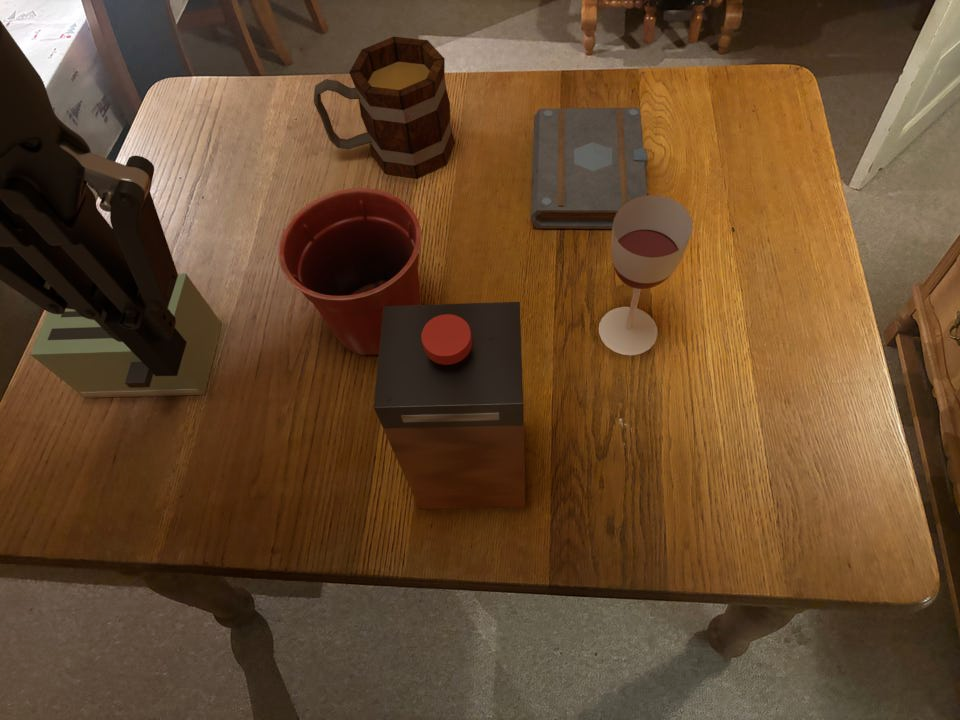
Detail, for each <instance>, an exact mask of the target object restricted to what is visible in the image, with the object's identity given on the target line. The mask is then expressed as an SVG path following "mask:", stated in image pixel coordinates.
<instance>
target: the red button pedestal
mask: <svg viewBox="0 0 960 720" xmlns="http://www.w3.org/2000/svg"><path fill="white" fill-rule="evenodd" d="M445 314H451V315H456V316H459V317H461V318H462V319H464V320H465V321H466V322H467V324H468V325H469V327H470V330H471V336H472V348H471V350H470V352H469V354H468V355H467V356H466V357H465V358H464V359H463V360H461V361H460V362H457V363H455V364H450V365H443V364H438V363H436V362H434V361H432V360H431V359H429V358H428V356H427V355H426V353H425V351H424V348H423V344H422V339H421V334H422V330H423V328H424V326H425V325H426V324H427V323H428V322H429V321H430V320H431V319H433V318H434V317H437V316H440V315H445ZM521 322H522V321H521V302H520V301H501V302H499V301H497V302H495V301H494V302H470V303H469V302H468V303H439V304H438V303H437V304H422V305H407V306H384V307H383V315H382V326H381V337H380V347H379V355H378V358H377V359H378V360H377V370H376V371H377V372H376V379H375V393H374V402H373V409H374V412H375V413H376V416H377V417H378V421H379V422H380V423H379V424H381V427H382V429H383V432H384V434H385V436H386V438H387V440H388V442H389V445H390V447H391V449H392V451H393V454H394V455H395V459H396V460H397V463H398V465H399V467H400V470H401V471H402V474H403V476H404V478H405V480H406V482H407V484H408V486H409V489H410V491H411V493H412V496H413V497H414V500H415V502H416V504H417V506H418V508H419V510H441V509H443V510H446V509H451V510H452V509H498V508H499V509H501V508H503V509H505V508H509V509H510V508H512V509H513V508H525V507H526V491H525V490H526V489H525V488H526V487H525V486H526V485H525V484H526V482H525V425H524V424H525V422H524V421H525V419H524V417H525V416H524V384H523V383H524V380H523V379H524V378H523V351H522V350H523V348H522V323H521Z"/></svg>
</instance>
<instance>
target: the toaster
mask: <svg viewBox="0 0 960 720" xmlns="http://www.w3.org/2000/svg"><path fill="white" fill-rule="evenodd" d="M168 309H169V310H170V311H171V313H172V314H173V315H174V317H175V318H176V324H175V328H176V330H177V331H178V332H179V333H180V335H181V336H182V337H183V338H184V339H185V341H186V342H187V343H186V347H185V350H184V354H183V357H182V360H181V364H180V367H179V371H178V374H177V376H155V375H154V374H153V373H152V372H151V371H150V370H149V369H148V368H147V367H146V366H145V364H144V363H143V362H142V361H141V360H140V359H139V358H138V357H137V356H136V355H135V354H134V353H133V352H132V351H131V350H130V349H129V348H128V347H127V346H126V345H125V344H124V343H123V342H118V341H116V340H115V339H113V338H111V337H110V336H109V335H108V333H107V332H106V331H105V330H104V329H103V328H102V327H101V326H100V325H99V324H98V323H97V322H96V321H95V320H91V319H87V318H84V317H82V316H81V315H80V314H78V313H77V312H76V311H75V310H73V309H67V308H66V309H65V312H64V313H63V314H52V313H50V312H48V311H46V314H45V317H44V319H43V322H42V324H41V326H40V328H39V332H38V334H37V336H36V339H35V340H34V343H33V346H32V348H31V351H30V353H29V355H30V356H31V357H32V358H33V359H35V360H36V361H37V362H39V363H40V364H41V365H42V366H44V367H45V369H48V370H49V371H50V372H51V373H53V374H54V375H55V376H56V377H57V378H58V379H60V380H61V381H63V382H64V383H66V385H68V387H70V388H72V389H73V390H74V391H76V393H78V394H79V395H80V396H82V397H83V398H85V399H90V398H91V399H93V398H127V397H128V398H130V397H133V398H134V397H166V396H167V397H169V396H203V395H204V396H205V395H206V391H207V387H208V382H209V378H210V375H211V370H212V365H213V362H214V359H215V355H216V350H217V345H218V343H219V342H218V341H219V337H220V333H221V328H222V325H223V323H222V322H221V320H220V319H219V317H218V316H217V315H216V313H215V312H214V310H213V309H212V307H211V306H210V305H209V303H208V302H207V301H206V299H205V298H204V296H203V295H202V294H201V292H200V291H199V289H198V288H197V287H196V285H195V284H194V283H193V281H192V280H191V279H190V277H189V276H188V274H186V273H178V277H177V280H176V284H175V287H174V290H173V293H172V296H171V299H170V303H169V306H168Z"/></svg>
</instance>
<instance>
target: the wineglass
mask: <svg viewBox="0 0 960 720" xmlns="http://www.w3.org/2000/svg"><path fill="white" fill-rule="evenodd" d="M693 222H694V221H693V219H692V216H691V214H690V212H689V210H688V209H687V208H686V207H685V206H684V205H683V204H682V203H680V202H679V201H677V200H675V199H673V198H671V197H667V196H664V195H658V194H657V195H656V194H649V195H648V194H647V196H642V197H638V198H635V199H633V200H631V201H629V202H627V203H626V204H625V205H623V206H622V207H621V208H620V209H619V211H618V212H617V214H616V216H615V218H614V222H613V227H612V229H611V242H610V251H611V252H610V253H611V254H610V255H611V261H612V266H613V270H614V271H615V273H616V276H617V277H618V278H619V280H621V282H622V283H624V284H625V285H626V286H627V287H630V288H633V294H632V298H631V302H630V306H620V307H615V308H613V309H611V310H609V311H607V312H606V313H605V314H604V315H603V316H602V317H601V319H600V322H599V324H598V334H599V337H600V338H599V339H600V340H601V342H602V343H603V344H604V345H605V347H607V348H608V349H609V350H611V351H612V352H613V353H617V354H619V355H622V356H623V355H624V356H635V355H636V356H637V355H641V354H644V353H646V352H648V351H649V350H650V349H651V348H652V347H653V346H654V345H655V343H656V341H657V339H658V327H657V324H656V322H655V320H654V319H653V318H652V317H651V315H650V314H649V313H647V312H646V311H644V310H642V309H640V308H638V303H639V300H640V295H641V291H642V290H647V289H652V288H654V287H657V286H659V285H661V284H663V283H664V282H665V281H667V279H669V278H670V277H671V276H672V275H673V273H674V272H675V271H676V270H677V269H678V267H679V265H680V263H681V261H682V259H683V258H684V256H685V253H686V251H687V248H688V245H689V242H690V240H691V236H692V235H693V228H694V225H693V224H694V223H693Z"/></svg>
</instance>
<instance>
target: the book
mask: <svg viewBox="0 0 960 720" xmlns="http://www.w3.org/2000/svg"><path fill="white" fill-rule="evenodd" d="M641 117H642V116H641V108H640V107H572V108H571V107H569V108H568V107H567V108H562V107H561V108H559V107H558V108H556V107H555V108H539V109H538V110H537V111H536V113H535V114H533V135H532V136H533V137H532V167H531V168H532V170H531V196H530V197H531V199H530V200H531V201H530V222H531V223H532V224H533V226H534V227H535V228H536V229H583V230H585V229H589V230H590V229H591V230H592V229H595V230H596V229H597V230H599V229H600V230H601V229H602V230H604V229H605V230H607V229H608V230H609V229H611V230H612V227H613V222H614V218H615V216H616V214H617V212H618V211H619V209H620V208H621V207H622V206H623V205H625V204H626V203H627V202H629V201H631V200H633V199H635V198H638V197H642V196H648V188H647V187H648V186H647V178H646V177H647V176H646V170H647V166H648V161H649V160H648V152H647V151H648V150H647V148H645V147H644V141H643V130H642V118H641Z"/></svg>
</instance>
